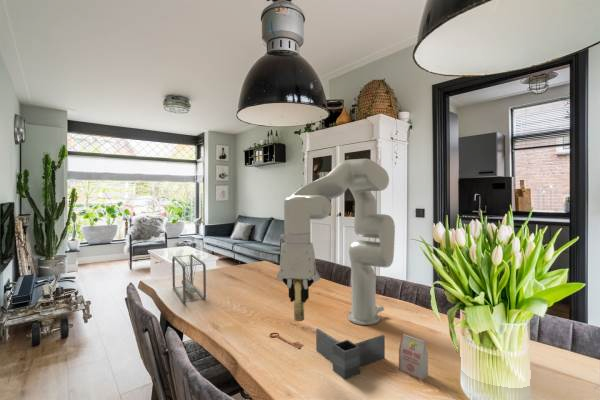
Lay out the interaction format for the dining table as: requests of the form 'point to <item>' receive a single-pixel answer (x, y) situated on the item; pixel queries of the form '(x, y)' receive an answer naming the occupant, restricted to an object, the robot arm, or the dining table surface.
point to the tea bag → (413, 357)
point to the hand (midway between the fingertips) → (298, 300)
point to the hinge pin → (298, 300)
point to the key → (288, 341)
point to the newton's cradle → (185, 282)
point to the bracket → (350, 353)
